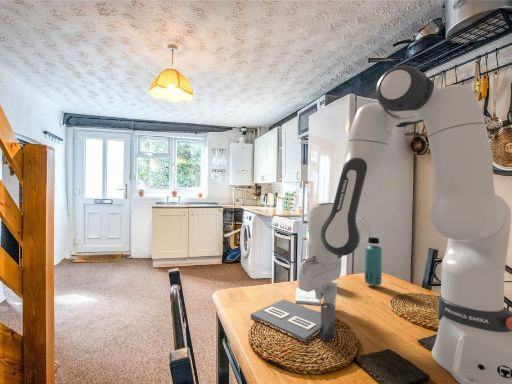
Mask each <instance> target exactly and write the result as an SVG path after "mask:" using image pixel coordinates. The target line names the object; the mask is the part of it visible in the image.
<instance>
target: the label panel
mask: <svg viewBox="0 0 512 384" xmlns="http://www.w3.org/2000/svg"><path fill="white" fill-rule="evenodd" d="M250 319H252V320H254V321H256V320H260V321H263V322H265V323H268V324H270V325H272V326H274V327H277V328H279V329H281V330H283V331H285V332H287V333H289V334H291V335H293V336H294V337H296V338H298V339H300V340H302V341H304V342H305V341H306V340H308V339H309V338H311V337H312V336H313V335H314V334H316V333H317V332H318V331H319V330H320V322H321V311H317V310H314V309H312V308H309V307H305V306H303V305H300V304H299V303H296V302H292V301H288V300H286V299H282V300H279V301H277V302H275V303H273V304H270V305H268V306H266V307H264V308H261V309H259V310H256V311H254V312H252V313H250ZM312 338H313V337H312ZM312 338H311V339H312ZM302 341H301V342H302ZM308 341H309V340H308ZM304 342H303V343H304ZM305 343H306V342H305Z"/></svg>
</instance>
